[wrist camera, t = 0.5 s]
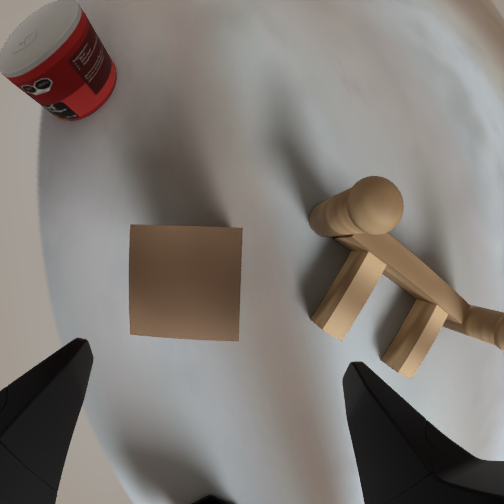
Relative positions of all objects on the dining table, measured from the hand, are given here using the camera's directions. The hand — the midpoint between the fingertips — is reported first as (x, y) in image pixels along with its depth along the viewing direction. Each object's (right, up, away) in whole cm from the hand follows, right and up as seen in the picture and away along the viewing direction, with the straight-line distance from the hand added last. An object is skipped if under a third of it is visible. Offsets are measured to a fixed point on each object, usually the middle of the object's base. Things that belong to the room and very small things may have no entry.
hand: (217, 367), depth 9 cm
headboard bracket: (+13, -1, +17) cm, 21 cm away
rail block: (-3, +3, +15) cm, 16 cm away
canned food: (-16, +20, +14) cm, 29 cm away
